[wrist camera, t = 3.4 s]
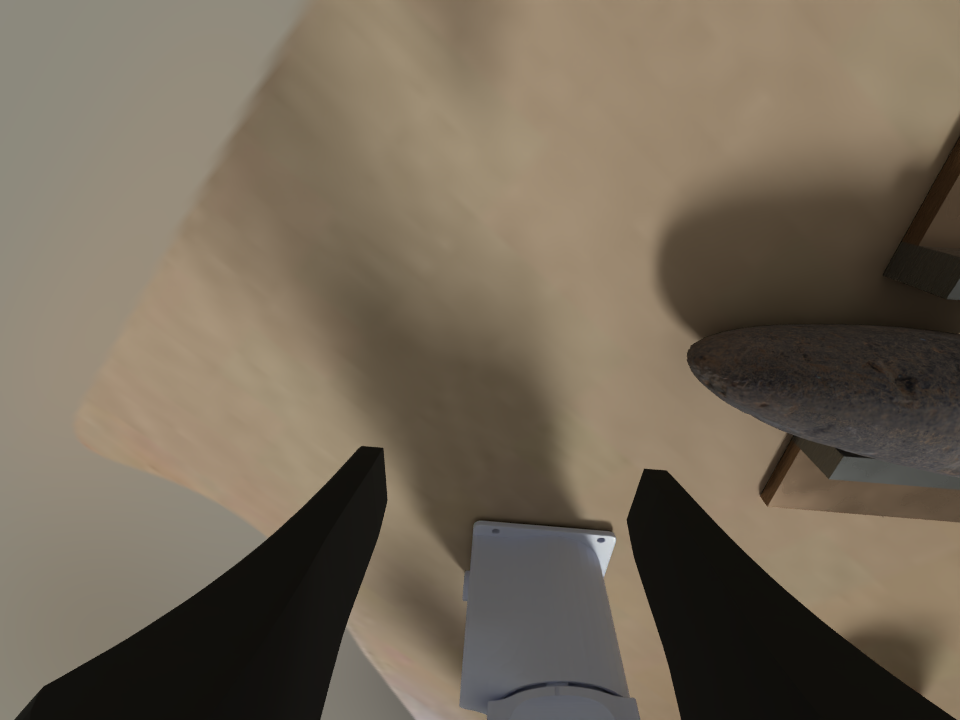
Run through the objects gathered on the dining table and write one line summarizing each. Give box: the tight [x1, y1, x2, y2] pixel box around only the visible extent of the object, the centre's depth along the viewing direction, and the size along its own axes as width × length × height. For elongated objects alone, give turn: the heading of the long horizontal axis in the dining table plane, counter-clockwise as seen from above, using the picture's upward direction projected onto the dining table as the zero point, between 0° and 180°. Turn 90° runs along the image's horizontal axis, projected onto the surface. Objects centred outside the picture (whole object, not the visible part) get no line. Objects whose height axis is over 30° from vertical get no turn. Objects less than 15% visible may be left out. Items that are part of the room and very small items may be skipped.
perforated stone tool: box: [687, 324, 960, 477], centre depth 17 cm, size 15×5×7 cm, turn 82°
